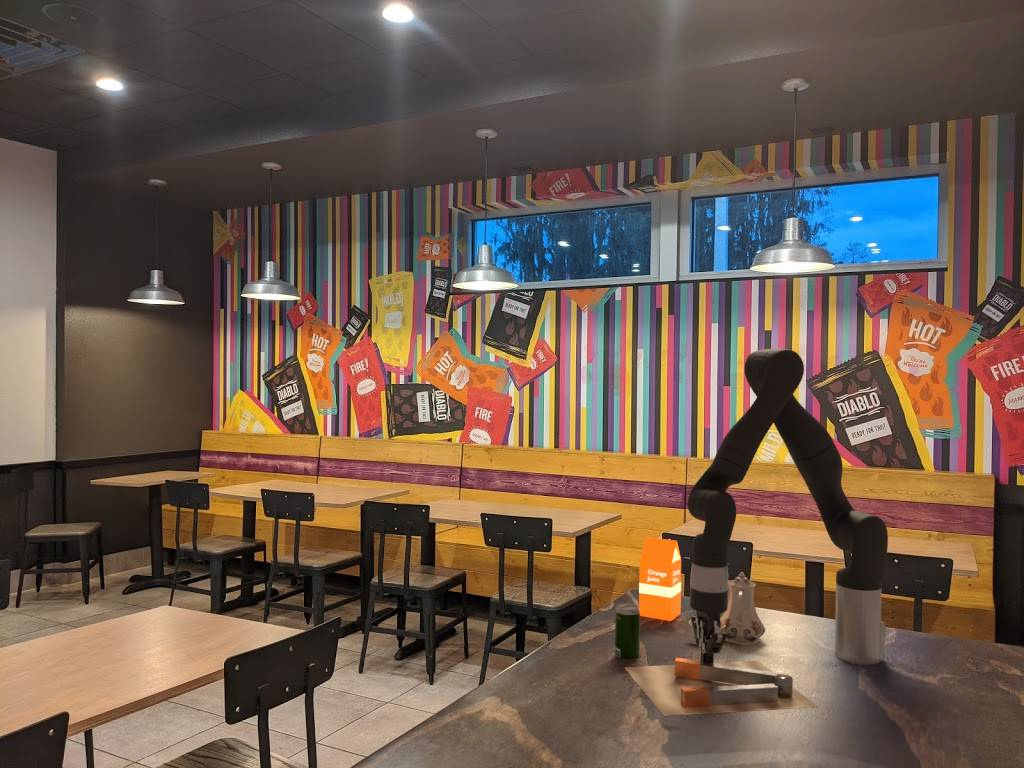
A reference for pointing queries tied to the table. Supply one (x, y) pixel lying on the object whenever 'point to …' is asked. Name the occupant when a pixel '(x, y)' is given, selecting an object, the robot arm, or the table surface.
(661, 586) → the orange juice
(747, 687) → the tong fixed arm
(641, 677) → the cutting board
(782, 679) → the tong free arm
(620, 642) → the beer can
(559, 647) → the table surface
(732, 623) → the chinaware
